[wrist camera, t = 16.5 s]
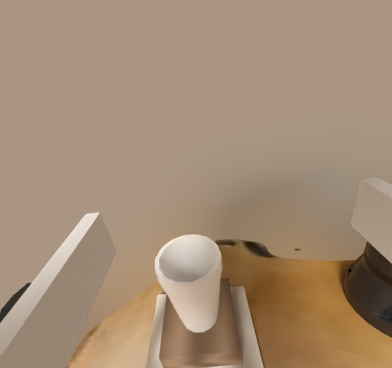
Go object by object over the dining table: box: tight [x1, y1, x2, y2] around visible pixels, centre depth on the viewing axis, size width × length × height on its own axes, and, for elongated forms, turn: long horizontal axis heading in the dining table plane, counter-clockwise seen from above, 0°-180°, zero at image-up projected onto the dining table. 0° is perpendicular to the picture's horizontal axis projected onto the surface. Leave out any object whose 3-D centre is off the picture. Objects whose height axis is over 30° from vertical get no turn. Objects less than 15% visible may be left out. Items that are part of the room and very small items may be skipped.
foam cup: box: [155, 234, 223, 333], centre depth 32 cm, size 10×9×13 cm
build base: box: [146, 278, 264, 368], centre depth 37 cm, size 18×14×6 cm
